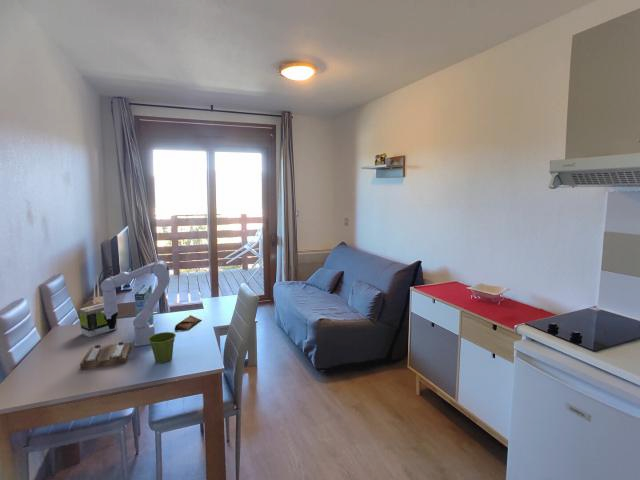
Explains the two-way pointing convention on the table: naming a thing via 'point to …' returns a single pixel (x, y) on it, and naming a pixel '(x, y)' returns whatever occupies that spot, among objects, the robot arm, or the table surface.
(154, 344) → the plant pot
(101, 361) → the wooden wall rack
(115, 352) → the bar
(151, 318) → the gum box
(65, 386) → the table surface
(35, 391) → the table surface
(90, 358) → the latch
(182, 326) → the sunglasses case
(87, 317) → the tea box
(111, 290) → the robot arm
